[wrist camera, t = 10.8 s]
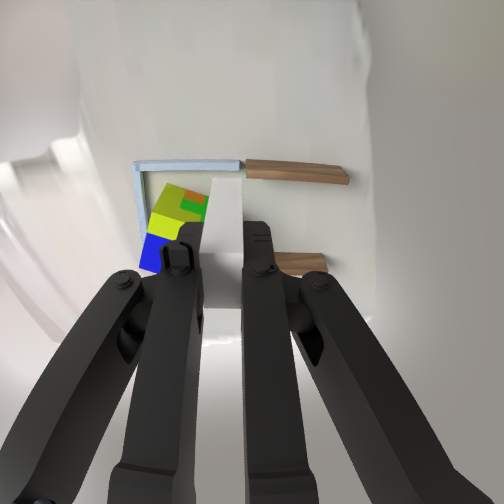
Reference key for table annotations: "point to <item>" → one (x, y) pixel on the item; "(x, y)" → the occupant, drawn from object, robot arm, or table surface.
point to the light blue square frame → (169, 165)
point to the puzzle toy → (170, 221)
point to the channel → (297, 172)
